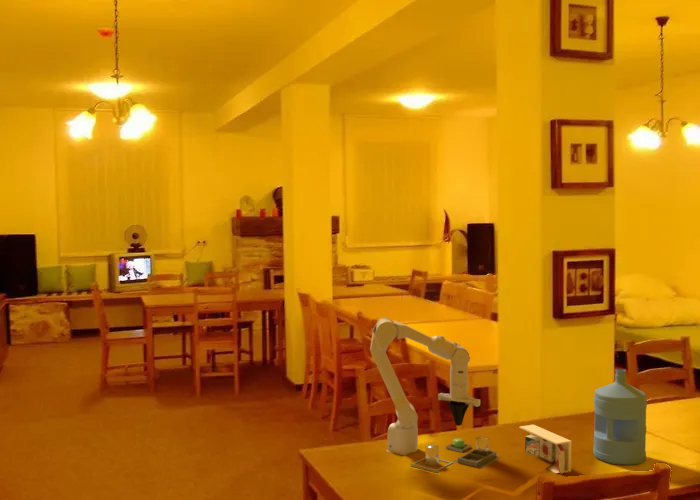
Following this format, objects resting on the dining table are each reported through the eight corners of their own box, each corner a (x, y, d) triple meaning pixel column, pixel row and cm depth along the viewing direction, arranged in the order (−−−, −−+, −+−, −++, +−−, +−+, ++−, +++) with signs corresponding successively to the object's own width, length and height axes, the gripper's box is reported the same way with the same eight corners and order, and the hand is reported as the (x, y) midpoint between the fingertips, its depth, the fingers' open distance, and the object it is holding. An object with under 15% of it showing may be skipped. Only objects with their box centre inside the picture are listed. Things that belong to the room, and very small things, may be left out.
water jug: (607, 446, 246) (608, 362, 244) (654, 457, 235) (656, 370, 233) (584, 457, 235) (585, 370, 233) (632, 469, 224) (633, 378, 222)
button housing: (445, 452, 240) (446, 446, 240) (455, 447, 245) (455, 441, 245) (462, 456, 236) (462, 449, 236) (471, 451, 241) (471, 445, 241)
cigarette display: (518, 455, 237) (518, 426, 237) (533, 453, 240) (533, 424, 239) (558, 475, 219) (559, 444, 219) (574, 473, 221) (574, 442, 221)
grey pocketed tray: (452, 465, 228) (453, 457, 228) (472, 454, 238) (472, 446, 238) (482, 472, 222) (482, 463, 222) (501, 461, 232) (501, 452, 232)
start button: (451, 449, 240) (451, 440, 240) (456, 446, 243) (456, 437, 243) (460, 451, 238) (460, 442, 238) (466, 448, 241) (466, 439, 241)
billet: (422, 466, 226) (422, 446, 225) (429, 462, 229) (429, 443, 228) (434, 468, 223) (434, 449, 223) (441, 465, 226) (441, 446, 226)
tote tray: (411, 468, 225) (411, 464, 225) (427, 460, 232) (427, 456, 232) (437, 475, 219) (437, 470, 219) (452, 466, 227) (452, 462, 227)
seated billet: (473, 457, 232) (473, 438, 231) (479, 453, 235) (479, 435, 235) (484, 459, 229) (484, 440, 229) (490, 456, 232) (490, 437, 232)
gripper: (485, 384, 238) (484, 425, 239) (445, 377, 247) (445, 418, 248) (474, 388, 233) (474, 431, 233) (434, 381, 241) (434, 423, 242)
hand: (458, 424), depth 240 cm, fingers closed
